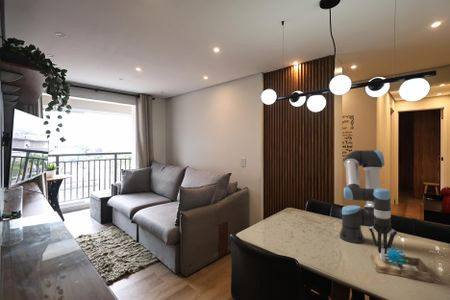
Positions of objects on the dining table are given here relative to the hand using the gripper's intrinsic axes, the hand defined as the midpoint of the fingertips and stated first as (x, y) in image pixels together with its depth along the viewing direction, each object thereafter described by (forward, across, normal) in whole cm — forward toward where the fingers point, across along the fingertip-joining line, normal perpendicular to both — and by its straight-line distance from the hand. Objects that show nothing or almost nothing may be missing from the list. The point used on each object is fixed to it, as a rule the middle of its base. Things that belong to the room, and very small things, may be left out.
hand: (382, 258), depth 118 cm
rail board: (+4, +7, 0) cm, 8 cm away
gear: (+2, +6, +1) cm, 6 cm away
